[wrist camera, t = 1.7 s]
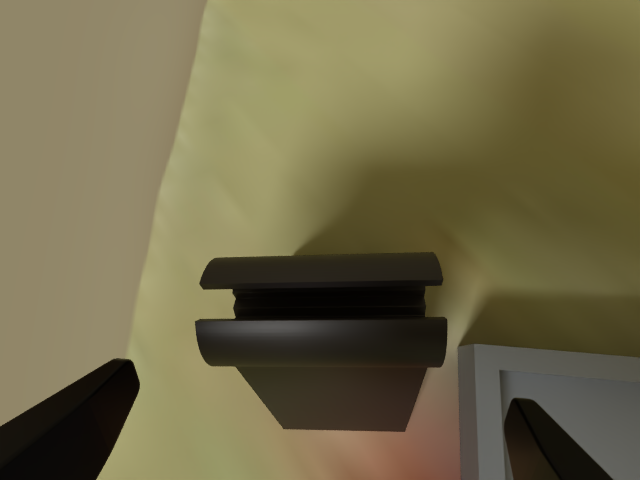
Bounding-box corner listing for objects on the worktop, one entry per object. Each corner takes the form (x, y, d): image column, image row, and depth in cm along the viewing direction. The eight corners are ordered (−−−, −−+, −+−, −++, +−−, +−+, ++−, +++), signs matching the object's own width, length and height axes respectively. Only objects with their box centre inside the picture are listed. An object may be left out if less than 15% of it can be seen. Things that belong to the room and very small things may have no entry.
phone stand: (403, 431, 18) (469, 534, 7) (284, 427, 19) (170, 517, 8) (394, 256, 21) (430, 132, 10) (290, 258, 22) (214, 143, 11)
